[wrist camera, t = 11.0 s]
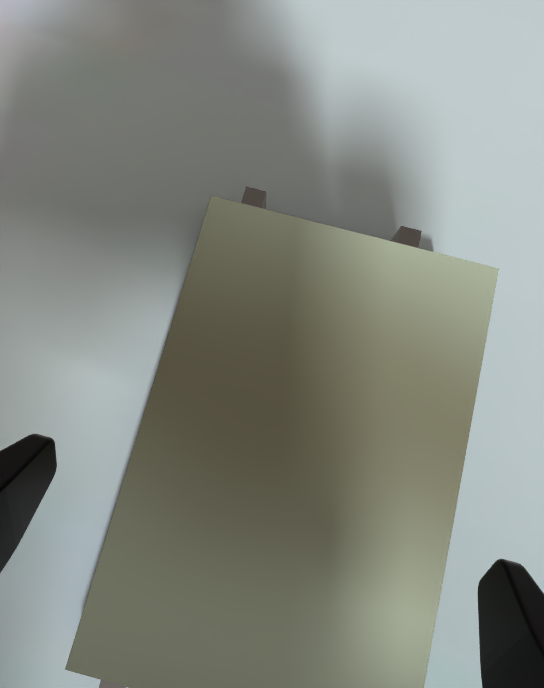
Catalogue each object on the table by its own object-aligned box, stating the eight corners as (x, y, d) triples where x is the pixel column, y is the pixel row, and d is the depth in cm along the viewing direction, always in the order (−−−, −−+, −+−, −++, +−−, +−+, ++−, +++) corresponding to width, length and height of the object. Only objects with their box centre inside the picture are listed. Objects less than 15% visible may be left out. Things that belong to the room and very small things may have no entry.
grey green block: (305, 531, 18) (408, 766, 5) (201, 503, 18) (65, 669, 5) (341, 375, 19) (498, 268, 6) (243, 350, 19) (211, 195, 6)
